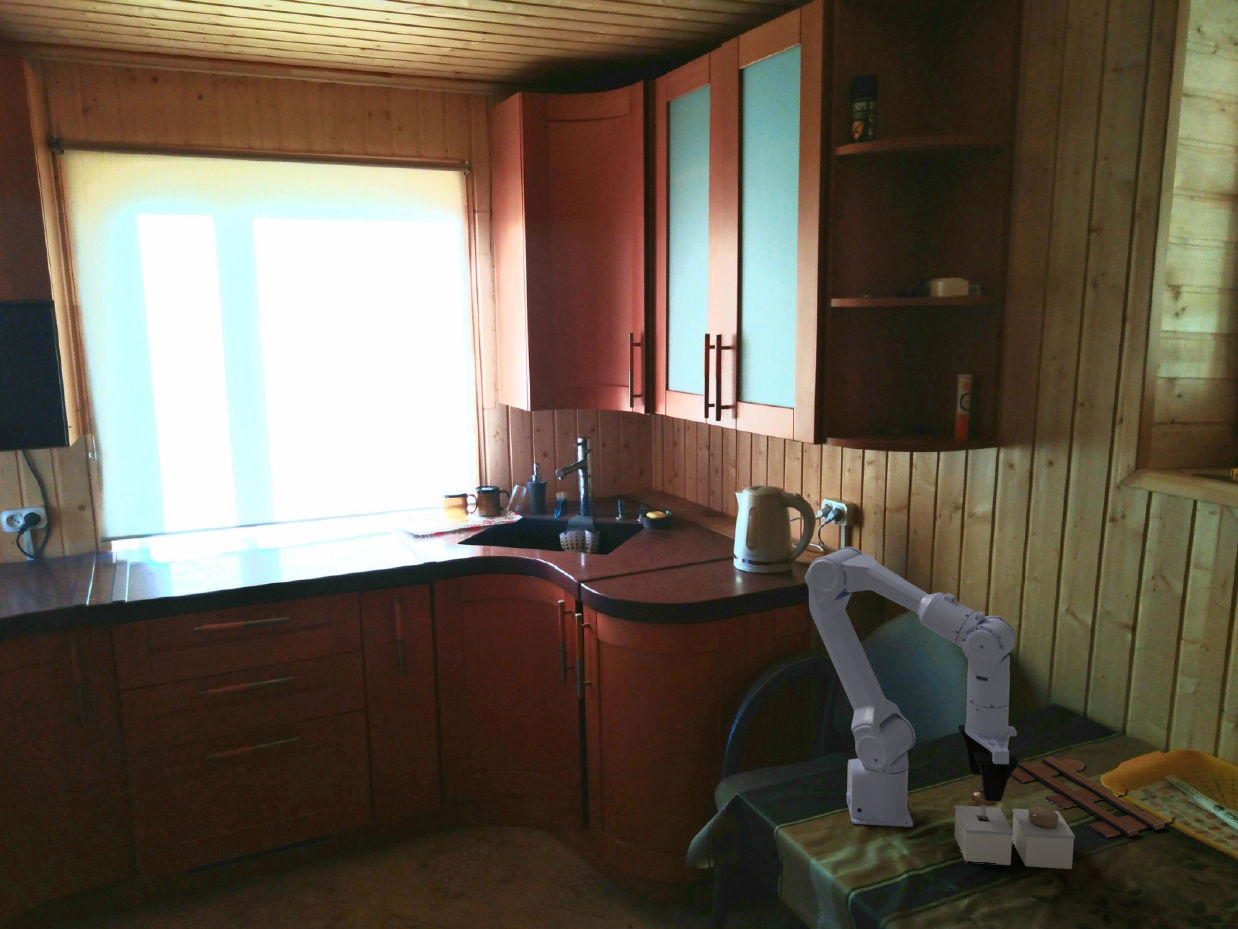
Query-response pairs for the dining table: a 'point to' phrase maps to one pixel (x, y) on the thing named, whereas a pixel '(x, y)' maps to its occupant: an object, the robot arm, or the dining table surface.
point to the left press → (983, 835)
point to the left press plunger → (980, 799)
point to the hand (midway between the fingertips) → (985, 786)
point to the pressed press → (1042, 838)
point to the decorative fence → (1087, 797)
